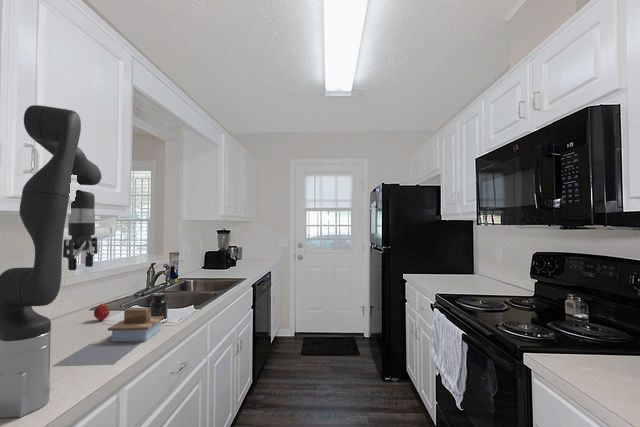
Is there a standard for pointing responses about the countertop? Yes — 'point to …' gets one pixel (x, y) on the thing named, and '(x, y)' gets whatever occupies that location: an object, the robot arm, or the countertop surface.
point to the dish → (135, 334)
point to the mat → (98, 354)
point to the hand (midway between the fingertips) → (81, 268)
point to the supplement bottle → (158, 306)
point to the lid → (136, 320)
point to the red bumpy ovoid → (101, 312)
